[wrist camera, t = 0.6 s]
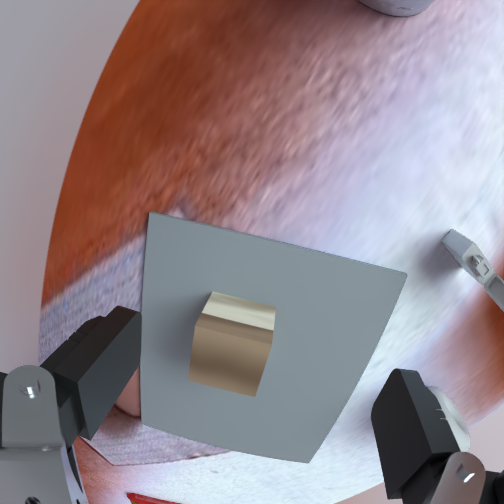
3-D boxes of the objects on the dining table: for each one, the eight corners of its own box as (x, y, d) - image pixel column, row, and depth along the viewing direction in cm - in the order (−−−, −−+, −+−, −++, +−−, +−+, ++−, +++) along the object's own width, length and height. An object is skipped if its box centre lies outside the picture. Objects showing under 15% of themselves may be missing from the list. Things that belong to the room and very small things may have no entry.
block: (212, 291, 29) (195, 325, 24) (276, 306, 29) (271, 344, 24) (204, 341, 32) (187, 379, 26) (261, 356, 31) (255, 397, 26)
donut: (457, 400, 32) (482, 456, 22) (437, 416, 33) (457, 472, 23) (425, 366, 30) (453, 430, 21) (401, 385, 31) (423, 450, 22)
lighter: (440, 241, 26) (482, 274, 18) (452, 227, 25) (497, 257, 18) (475, 285, 27) (514, 324, 19) (486, 273, 26) (527, 309, 19)
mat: (151, 211, 28) (149, 212, 28) (405, 273, 27) (407, 275, 27) (142, 421, 38) (141, 423, 38) (308, 460, 38) (308, 463, 37)
